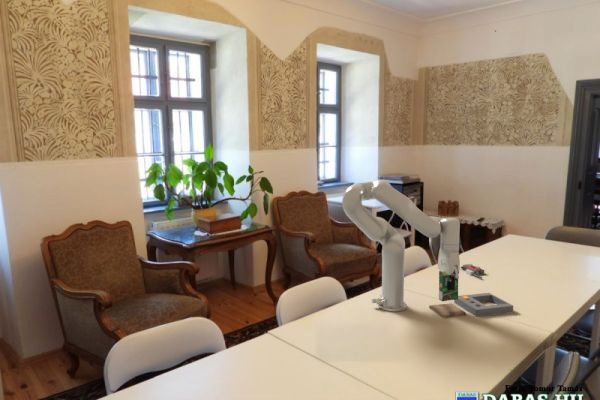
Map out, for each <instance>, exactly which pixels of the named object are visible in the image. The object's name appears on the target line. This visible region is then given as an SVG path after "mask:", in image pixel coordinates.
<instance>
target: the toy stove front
mask: <svg viewBox="0 0 600 400" xmlns="http://www.w3.org/2000/svg"><path fill="white" fill-rule="evenodd" d="M487 302H492V303H493V304H492V305H486V304H484V303H487ZM453 304H454V305H457V306H459V308H462V309H463V310H465V312H466V311H467V312H468V313H470V314H471V315H473V316H474V317H485V316H494V315H503V314H511V313H514V305H513V304H511V303H509V302H507V301H506V300H504V299H502V298H500V297H498V296H496V295H494V294H492V293H490V292H483V293H473V294H465V295H464V294H463V295H458V299H456V300H453Z"/></svg>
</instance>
